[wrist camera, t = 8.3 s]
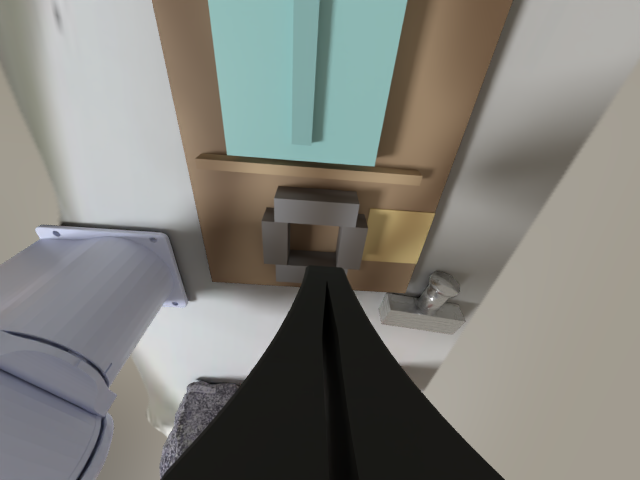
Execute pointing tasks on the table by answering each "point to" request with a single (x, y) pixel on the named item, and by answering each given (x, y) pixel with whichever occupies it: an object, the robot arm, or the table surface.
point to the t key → (425, 307)
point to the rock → (194, 417)
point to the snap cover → (305, 76)
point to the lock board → (329, 178)
